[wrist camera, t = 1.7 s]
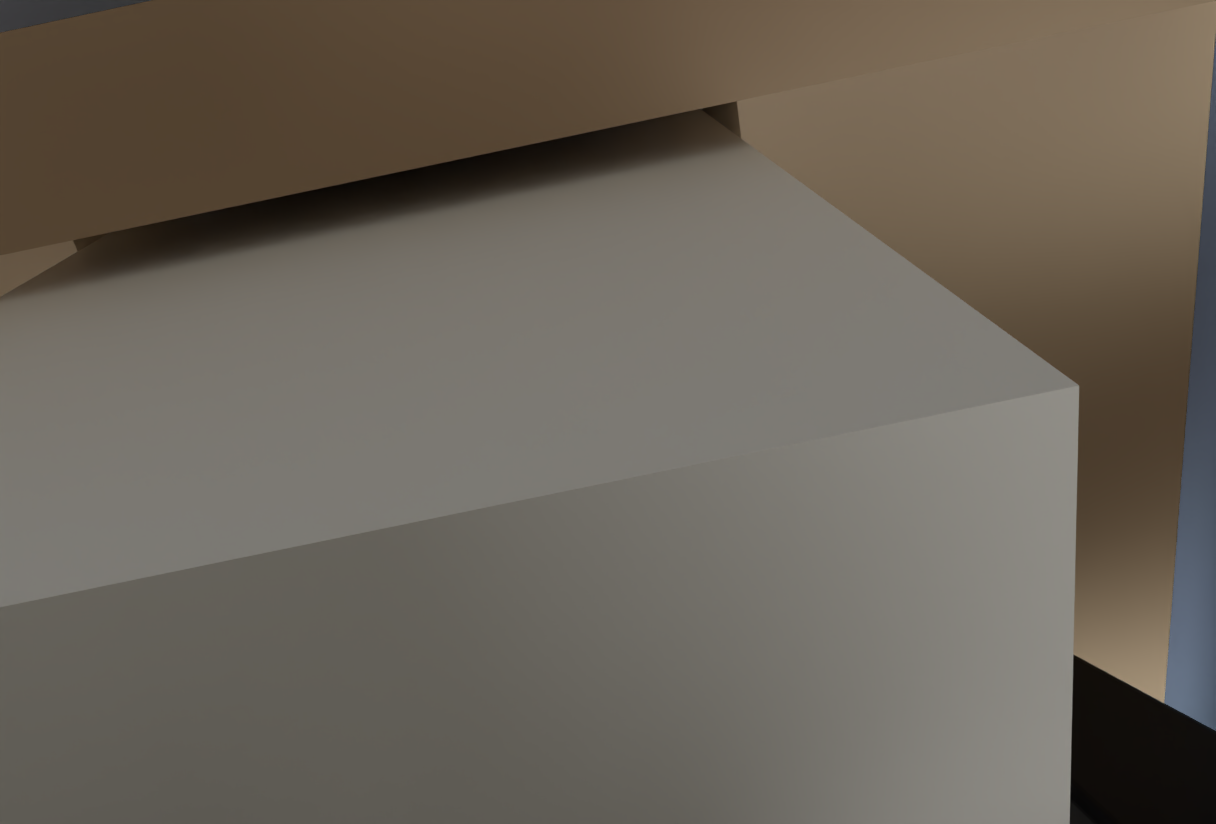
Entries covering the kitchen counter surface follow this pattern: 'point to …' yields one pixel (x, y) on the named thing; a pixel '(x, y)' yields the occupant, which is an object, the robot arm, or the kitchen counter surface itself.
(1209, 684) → the kitchen counter surface
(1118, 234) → the bay
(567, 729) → the white handled drawer
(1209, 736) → the robot arm
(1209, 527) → the kitchen counter surface
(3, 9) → the kitchen counter surface
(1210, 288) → the kitchen counter surface
